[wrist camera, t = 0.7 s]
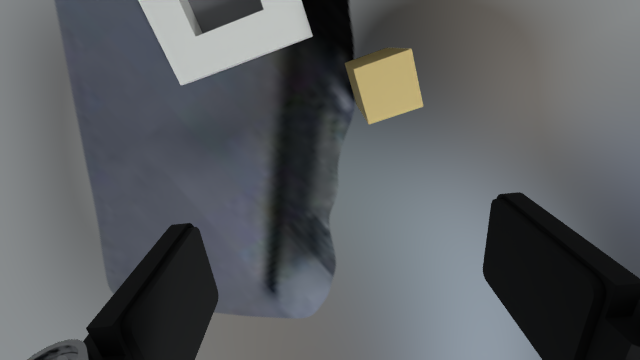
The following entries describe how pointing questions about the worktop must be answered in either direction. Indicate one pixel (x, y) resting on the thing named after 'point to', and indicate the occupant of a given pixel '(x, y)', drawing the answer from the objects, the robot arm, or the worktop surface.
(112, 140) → the worktop surface
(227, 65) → the socket housing
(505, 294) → the robot arm
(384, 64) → the plug block
